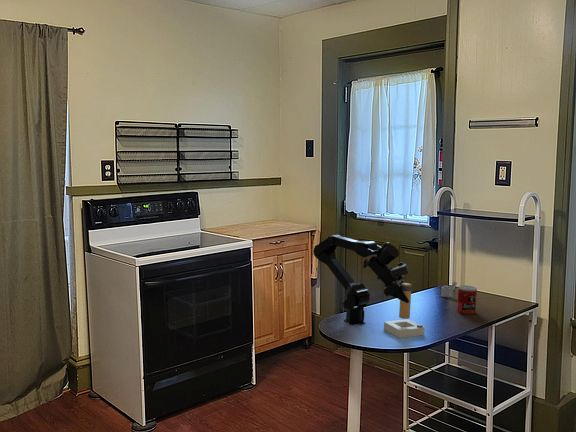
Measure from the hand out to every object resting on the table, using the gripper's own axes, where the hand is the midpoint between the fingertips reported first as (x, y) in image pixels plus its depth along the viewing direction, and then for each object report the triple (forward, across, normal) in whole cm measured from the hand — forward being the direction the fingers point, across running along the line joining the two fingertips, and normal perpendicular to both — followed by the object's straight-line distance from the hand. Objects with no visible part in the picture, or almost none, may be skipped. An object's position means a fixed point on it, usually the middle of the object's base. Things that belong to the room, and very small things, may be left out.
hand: (409, 300), depth 219 cm
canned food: (+24, +38, -6) cm, 45 cm away
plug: (+4, 0, +6) cm, 7 cm away
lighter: (+19, +61, -1) cm, 64 cm away
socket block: (+8, 0, +10) cm, 13 cm away
